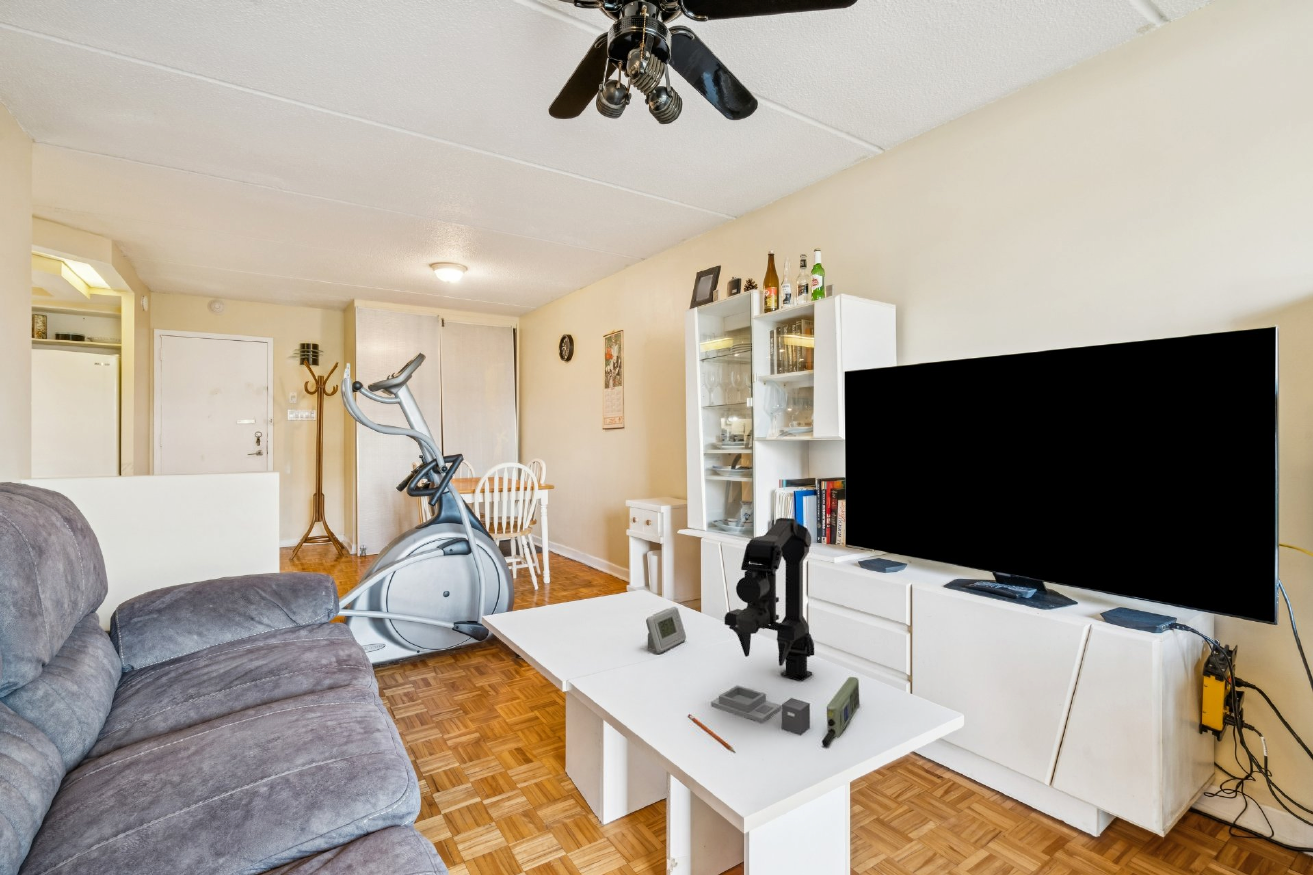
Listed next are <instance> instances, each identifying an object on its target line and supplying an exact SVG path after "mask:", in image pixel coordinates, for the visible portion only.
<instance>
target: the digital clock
mask: <svg viewBox="0 0 1313 875" xmlns="http://www.w3.org/2000/svg"><path fill="white" fill-rule="evenodd" d="M645 622H646V627H647V630H648V634H647V648H648V649H650V650H653V651H654V653H655V654H662V653H663V652H667V651H669V650H671V649H673V648H674V647H676V646H679V645H680V644H681V643H683V642H685V640H686V639H687V635H686V632H685V628H684V625H683V621H682V618H681V615H680V611H679V608H678V607H676V606H672V607H670V608H665V609H664V610H661V611H659V612H655V614H652V615H651V616H649V617H647V618H646V619H645Z"/></svg>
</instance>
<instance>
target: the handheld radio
mask: <svg viewBox="0 0 1313 875" xmlns="http://www.w3.org/2000/svg"><path fill="white" fill-rule="evenodd" d="M859 682H860V681H859V678H858V677H856V676H849V677H847V679H846V681H844V683H843V684H842V686H841V687H840V688H839V689H838V691H837V692H836V693H835V695H834V696H833V698H831V700H830V702H829V703H828V704H827V705H826V722H827V724H826V726H827V733H826V734H825V736H824V737H823V739H822V740H821V743H822V745H823V747H827V746H828V745H829V744H830V742H831V740H832V739H833V738H836V737H837V738H839V737H840V736H841V735H842V733H843V731H844V730H845V728H846V727H847V725H848V724H849V722H850V720H851V719H852V717H853V716H854V714H855V713H856V711H857V709H858V708H859V707H860V705H861V704H860V686H859V685H860V684H859Z"/></svg>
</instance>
